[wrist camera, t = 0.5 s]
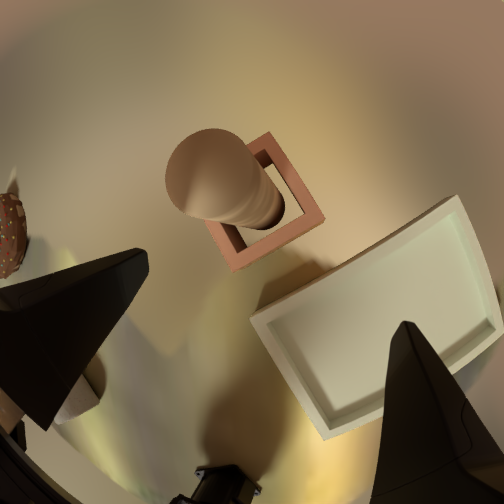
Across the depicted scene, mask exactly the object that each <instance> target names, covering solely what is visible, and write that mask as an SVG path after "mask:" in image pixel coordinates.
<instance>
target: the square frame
mask: <svg viewBox="0 0 504 504" xmlns="http://www.w3.org/2000/svg"><path fill="white" fill-rule="evenodd" d="M246 146H247V148H248V149H249V150H250V152H251V153H252V154H253V156H254V157H255V158H256V160H257V161H258V162H259V164H260V165H261V166H262V168H263V169H264V168H265V167H267V166H269V165H271V164H272V163H273V164H274V166H275V167H276V169H277V170H278V172H279V173H280V175H281V177H282V178H283V180H284V181H285V183H286V184H287V186H288V188H289V189H290V191H291V192H292V194H293V196H294V197H295V199H296V201H297V202H298V204H299V206H300V207H301V209H302V211H303V212H304V214H303V215H302V216H300V217H298V218H297V219H295V220H293V221H292V222H290V223H288V224H287V225H285V226H283V227H281V228H280V229H278V230H276V231H275V232H273V233H271V234H270V235H268V236H266V237H265V238H263V239H261V240H260V241H258V242H256V243H255V244H253V245H251V246H249V247H247V246H246V244H245V242H244V240H243V238H242V237H241V235H240V233H239V232H238V230H237V228H236V226H235V225H231V224H226V223H221V222H216V221H211V220H206V219H204V222H205V223H206V225H207V227H208V229H209V231H210V232H211V234H212V236H213V238H214V240H215V242H216V244H217V245H218V247H219V249H220V251H221V253H222V254H223V256H224V258H225V260H226V262H227V264H228V265H229V267H230V269H231V271H232V273H233V272H236V271H238V270H241V269H244V268H246V267H248V266H250V265H251V264H253V263H255V262H257V261H258V260H260V259H262V258H264V257H265V256H267V255H269V254H270V253H272V252H274V251H276V250H277V249H279V248H281V247H282V246H284V245H286V244H288V243H289V242H291V241H293V240H294V239H296V238H298V237H300V236H301V235H303V234H305V233H306V232H308V231H310V230H312V229H313V228H315V227H317V226H318V225H320V224H322V223H323V222H324V220H325V217H324V215H323V214H322V212H321V210H320V209H319V207H318V205H317V204H316V202H315V200H314V199H313V197H312V196H311V194H310V192H309V191H308V189H307V187H306V186H305V184H304V183H303V181H302V180H301V178H300V177H299V175H298V173H297V172H296V170H295V169H294V167H293V166H292V164H291V163H290V161H289V160H288V158H287V157H286V155H285V154H284V152H283V151H282V149H281V148H280V146H279V145H278V143H277V142H276V141H275V139H274V137H273V136H272V135H271V133H270V132H267V133H266V134H264V135H262V136H261V137H259V138H257V139H256V140H254V141H252V142H251V143H249V144H248V145H246Z"/></svg>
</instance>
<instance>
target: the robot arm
mask: <svg viewBox="0 0 504 504" xmlns="http://www.w3.org/2000/svg"><path fill="white" fill-rule="evenodd" d="M148 273H149V263H148V255H147V252H146V251H145V250H143V249H140V248H133V249H130V250H126V251H123V252H119V253H116V254H113V255H109V256H106V257H103V258H99V259H96V260H93V261H89V262H86V263H83V264H80V265H76V266H73V267H70V268H67V269H64V270H61V271H58V272H54V274H53V273H51V274H48V275H45V276H42V277H39V278H36V279H32V280H29V281H25V282H21V283H18V284H14V285H10V286H7V287H3V288H0V504H82V503H81V502H80V501H78V500H77V499H76V498H74V497H73V496H72V495H71V494H69V493H68V492H67V491H66V490H64V489H63V488H62V487H61V486H60V485H58V484H57V483H56V482H55V481H54V480H53V479H52V478H50V477H49V476H48V475H47V474H46V473H45V472H44V471H43V470H42V469H41V468H40V467H39V466H38V465H36V464H35V463H34V462H33V461H32V460H31V459H30V458H29V456H27V454H25V451H26V449H27V447H26V437H25V426H24V425H25V424H24V422H23V421H22V420H21V419H22V418H23V416H24V415H25V414H26V415H27V416H29V417H30V418H31V419H32V420H33V421H34V422H35V423H36V424H37V425H39V426H40V427H41V428H42V429H43V430H45V431H47V430H48V428H49V427H50V425H51V423H52V422H53V420H54V418H55V416H56V415H57V413H58V411H59V410H60V408H61V406H62V405H63V403H64V401H65V400H66V398H67V397H68V395H69V393H70V392H71V390H72V388H73V387H74V385H75V384H76V382H77V381H78V379H79V377H80V376H81V374H82V373H83V371H84V370H85V368H86V367H87V365H88V364H89V362H90V361H91V359H92V358H93V356H94V355H95V353H96V352H97V350H98V349H99V348H100V346H101V345H102V343H103V342H104V340H105V339H106V338H107V336H108V335H109V333H110V332H111V330H112V329H113V328H114V326H115V325H116V323H117V322H118V321H119V319H120V318H121V317H122V315H123V314H124V312H125V311H126V310H127V308H128V307H129V305H130V303H131V302H132V301H133V299H134V297H135V295H136V294H137V292H138V290H139V289H140V287H141V285H142V284H143V282H144V281H145V279H146V277H147V276H148ZM195 475H196V476H197V477H198V478H199V479H200V480H201V481H200V483H199V485H198V486H197V488H196V490H195V491H194V493H193V495H192V496H191V498H188V497H185V496H184V495H182V494H179V495H178V496H177V497H175V498H173V499H172V501H171V502H170V504H251V502H252V499H253V496H258V495H260V493H261V491H260V490H259V489H258V488H257V487H256V486H255V485H254V484H253V483H252V482H251V481H250V480H249V479H248V478H247V476H246V475H245V474H244V473H243V472H242V471H241V470H240V469H239V468H238V466H236V465H228V466H222V467H215V468H208V469H200V470H196V471H195ZM369 504H504V454H503V452H502V451H501V450H500V448H499V446H498V445H497V444H496V442H495V440H494V439H493V437H492V436H491V434H490V433H489V432H488V430H487V429H486V427H485V426H484V424H483V423H482V421H481V420H480V418H479V417H478V415H477V413H476V412H475V410H474V409H473V407H472V406H471V404H470V402H469V401H468V399H467V398H466V396H465V394H464V393H463V391H462V390H461V388H460V386H459V385H458V383H457V382H456V380H455V379H454V377H453V376H452V374H451V373H450V371H449V370H448V368H447V367H446V365H445V364H444V363H443V361H442V360H441V358H440V357H439V355H438V354H437V353H436V351H435V350H434V348H433V347H432V346H431V344H430V343H429V341H428V340H427V339H426V337H425V336H424V335H423V333H422V332H421V331H420V329H419V328H418V327H417V325H416V324H415V323H414V322H411V321H406V320H404V321H402V322H401V323H400V325H399V327H398V328H397V330H396V332H395V333H394V335H393V337H392V339H391V342H390V350H389V358H388V366H387V374H386V381H385V395H384V410H383V422H382V432H381V441H380V449H379V456H378V462H377V468H376V474H375V480H374V485H373V490H372V495H371V499H370V503H369Z"/></svg>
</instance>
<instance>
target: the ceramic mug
mask: <svg viewBox="0 0 504 504" xmlns="http://www.w3.org/2000/svg"><path fill="white" fill-rule="evenodd" d="M99 403H100V401H99V399H98V398H97V396H96V395H95V393H94V392H93V390H92V389H91V387H90V385H89V384H88V382H87V381H86V379H85V378H84V376H83V374H81V376H80V377H79V379H78V381H77V382H76V384H75V385H74V387H73V388H72V390H71V392H70V393H69V395H68V397H67V398H66V400H65V401H64V403H63V405H62V406H61V408H60V410H59V411H58V413H57V415H56V416H55V418H54V420H55V422H56V423H57V424H62V423H64V422H67V421H69V420H71V419H73V418H75V417H77V416H79V415H81V414H83V413H84V412H86V411H88V410H90V409H91V408H93V407H95V406H96V405H98V404H99Z"/></svg>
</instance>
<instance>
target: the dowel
mask: <svg viewBox="0 0 504 504" xmlns="http://www.w3.org/2000/svg"><path fill="white" fill-rule="evenodd" d="M165 182H166V188H167V192H168V195H169V197H170V199H171V201H172V202H173V204H174V205H175V206H176V207H177V208H178V209H179V210H180V211H182V212H183V213H185V214H187V215H189V216H192V217H196V218H201V219H206V220H211V221H216V222H221V223H226V224H231V225H236V226H242V227H246V228H251V229H256V230H267V229H270V228H272V227H274V226H276V225H277V224H278V223H279V222H280V220H281V219H282V217H283V215H284V211H285V202H284V199H283V196H282V194H281V193H280V192H279V190H278V189H277V187H276V186H275V184H274V183H273V182H272V180H271V179H270V177H269V176H268V175H267V173H266V172H265V171H264V169H263V168H262V166H261V165H260V164H259V162H258V161H257V160H256V158H255V157H254V156H253V154H252V153H251V152H250V150H249V149H248V148H247V146H246V145H245V144H244V142H243V141H242V140H241V139H240V138H239V137H238V136H236V135H235V134H233V133H231V132H229V131H226V130H222V129H205V130H201V131H198V132H196V133H194V134H192V135H190V136H188V137H187V138H186V139H185V140H183V141H182V142H181V143H180V144H179V145H178V146H177V148H176V149H175V150H174V152H173V153H172V155H171V157H170V159H169V162H168V165H167V169H166V175H165Z"/></svg>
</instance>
